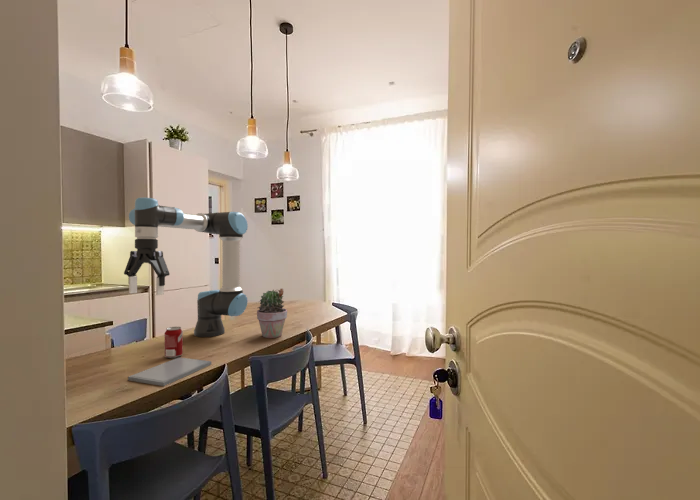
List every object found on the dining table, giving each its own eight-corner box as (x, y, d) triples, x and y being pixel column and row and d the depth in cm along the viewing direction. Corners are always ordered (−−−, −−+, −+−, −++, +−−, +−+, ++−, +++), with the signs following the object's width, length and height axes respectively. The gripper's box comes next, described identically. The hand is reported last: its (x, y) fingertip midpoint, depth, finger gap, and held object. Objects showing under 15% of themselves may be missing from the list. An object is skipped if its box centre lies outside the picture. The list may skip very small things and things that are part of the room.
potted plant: (257, 331, 184) (257, 286, 184) (292, 331, 183) (292, 286, 183) (245, 339, 166) (245, 289, 166) (284, 340, 165) (284, 290, 165)
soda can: (174, 359, 136) (174, 330, 136) (160, 358, 138) (160, 329, 138) (186, 354, 143) (186, 326, 143) (172, 353, 144) (172, 325, 144)
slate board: (179, 360, 136) (179, 357, 136) (211, 364, 131) (211, 361, 131) (128, 380, 115) (128, 376, 115) (164, 386, 110) (164, 382, 110)
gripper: (113, 238, 128) (113, 293, 128) (163, 237, 120) (163, 296, 120) (131, 239, 135) (131, 291, 135) (179, 238, 127) (179, 294, 127)
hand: (146, 294), depth 128 cm, fingers open, 13 cm apart
